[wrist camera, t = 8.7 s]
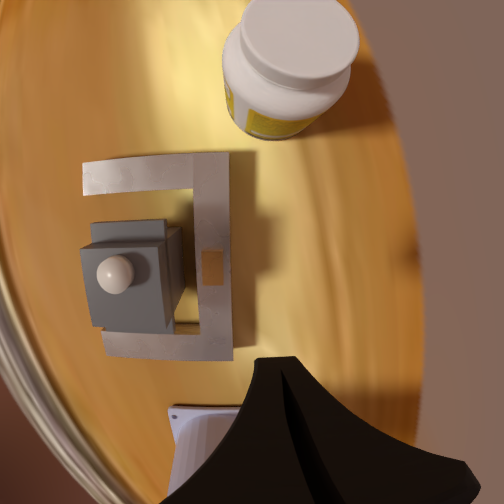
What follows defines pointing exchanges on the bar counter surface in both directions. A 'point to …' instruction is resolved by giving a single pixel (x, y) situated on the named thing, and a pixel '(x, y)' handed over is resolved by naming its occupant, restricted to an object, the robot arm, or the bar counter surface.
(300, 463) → the robot arm
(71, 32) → the bar counter surface
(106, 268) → the servo block
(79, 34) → the bar counter surface
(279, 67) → the supplement bottle
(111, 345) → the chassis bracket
